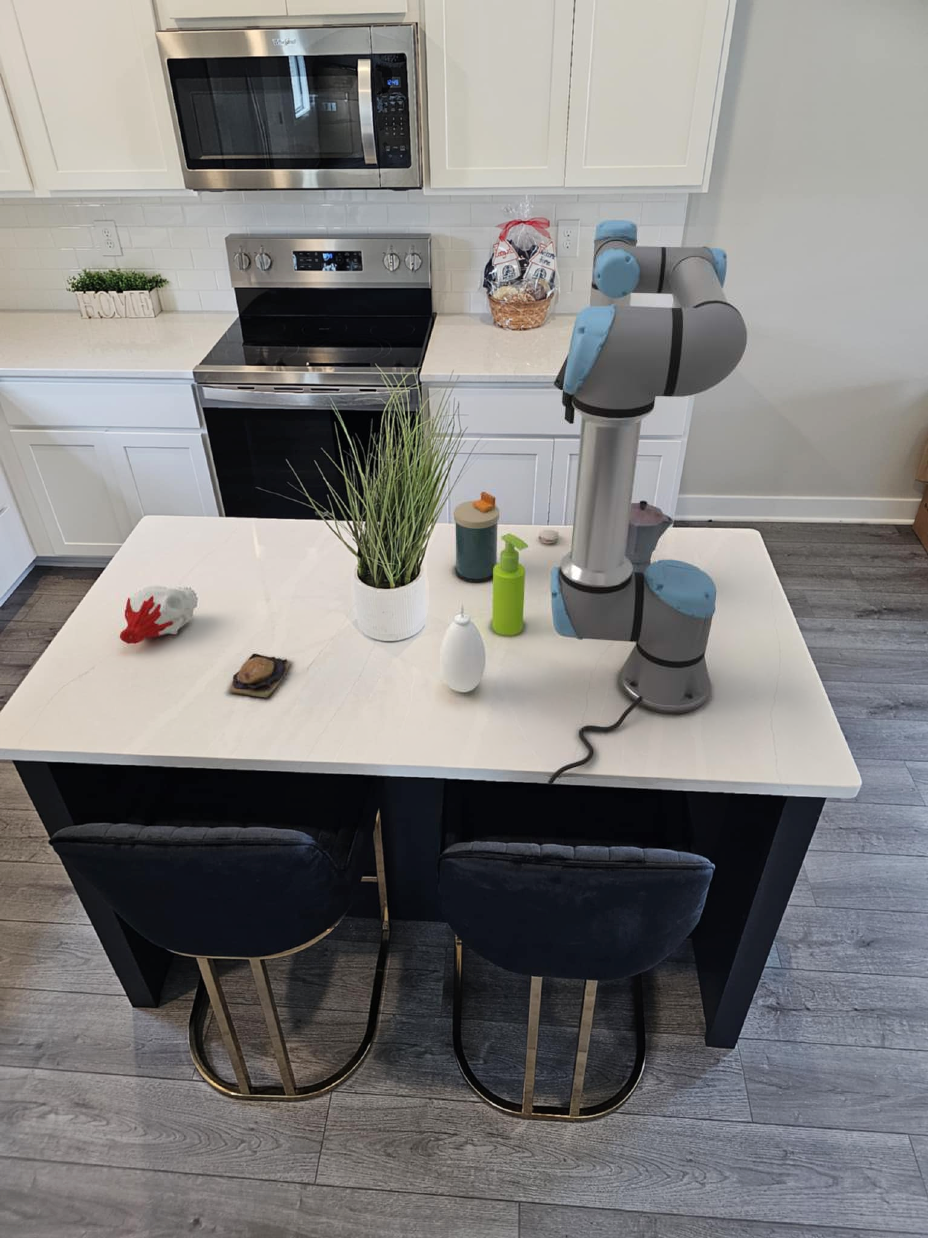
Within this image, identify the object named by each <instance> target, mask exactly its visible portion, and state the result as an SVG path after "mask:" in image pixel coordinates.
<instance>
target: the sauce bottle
mask: <svg viewBox="0 0 928 1238" xmlns="http://www.w3.org/2000/svg"><path fill="white" fill-rule="evenodd" d="M460 605H461V606H460V613H458V614H456V615H455V617H454V620H453V621H452V622H451V623H450V625H449V626H448V628H447V629H446V632H445V634H444V636H443V639H442V641H441V642H442V643H441V645H440V650H439V669H440V672H441V676H442V678H443V681H444V682H445V684H446V685H447V686H448V687H449V688H450V689H451V690H453V691H455V692H458V693H469V692H470V691H472V690H474V689H475V688H476V687H478V685H479V683H480V682H481V680H482V678H483V675H484V672H485V670H486V649H485V645H484V641H483V638H482V635H481V633H480V631H479V629H478V627H477V626H476V625H475V624H474V622H473V621H472V620H471V617H470V616H469V615H468V614H466V613H465V611H464V604H463V603H461V604H460Z"/></svg>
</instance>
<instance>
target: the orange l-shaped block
mask: <svg viewBox="0 0 928 1238" xmlns="http://www.w3.org/2000/svg"><path fill="white" fill-rule="evenodd" d="M474 501H475V502H473V506H474V507H476V508H478V509H480V510H481V511H483V512H486V511H488V510H490V509H493V508H495V506H496V497H495V496H493V495H491V494H489V493H487V492H486V491H481V492H480V499H478V500H474Z"/></svg>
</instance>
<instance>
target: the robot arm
mask: <svg viewBox="0 0 928 1238" xmlns="http://www.w3.org/2000/svg"><path fill="white" fill-rule="evenodd" d="M593 243H594V245H593V257H592V274H591V278H592V279H591V284H590V285H591V286H590V297H589V306H586V307H584V308H582V309H581V310H580V311H579V312H578V313H577V315H576V318H575V321H574V325H573V329H572V334H571V339H570V343H569V349H568V353H567V355H566V357H565V359H564V361H563V363H562V365H561V367H560V369H559V372H558V373H557V375H556V378H555V379H554V382H553V386H555V388H557V389H558V390H559V391H562V394H561V395H562V396H561V404H562V406H563V407H564V420H565V421H566V422H567V423H568V424H570V425H571V424H575V411H576V412H578V413H579V415H580V416H581V419H580V432H579V433H580V434H579V446H578V456H577V457H578V458H577V469H576V470H577V471H576V484H575V497H574V508H573V509H574V510H573V520H572V521H573V523H572V534H571V547H570V551H569V552H567V553H566V554H565V555H563V557H562V558H561V560H560V565H559V566H557V567H556V566H555V567H553V568H552V569H551V573H550V595H551V600H550V601H551V602H550V603H551V616H552V617H551V618H552V624H553V628H554V631H555V632H556V633H557V634H558V635H559V636H561V637H565V638H571V639H573V638H574V639H577V640H581V641H582V640H596V641H597V640H599V641H614V642H631V643H635V644H634V646H633V648H632V649H631V651H630V653H629V655H628V657H626V660H625V661H624V663H623V665H622V667H621V669H620V678H619V684H620V688H621V690H622V692H623V693H624V695H625V696H626V697H627V698H628V699H629V700H630V701H631V702H632V703H631V704H630V705H629V706H628V707H627V708H626V709H625V710H624V711H623V712H622V714H621V715H620V717H619V719H618V720H617V721H616V722H615V723H614V724H612V725H610V726H598V725H585V726H582V727H581V729H580V730H579V732H578V736H579V739H580V740H581V741H582V743H583V744H584V745H585V747H586V748H587V750H588V754H587V755H586V756H585V757H584V758H583V759H581V760H578V761H575V762H574V761H573V762H571V763H569V764H566V765H564V766H561V767H560V768H558V769H557V770H556V771H555V772H554V773H553V774H552V775H551V776H550V778H549V780H548V781H547V784H548V785H553V784H554V783H555V781H556V779H557V778H558V777H559V776H560V775H562V774H563V773H565V772H567V771H569V770H571V769H575V768H578V767H581V766H584V765H586V764H587V763H589V762H590V761H591V760H592V759H593V756H594V754H595V752H594V748H593V745H591V743H590V742H589V740H588V739H587V738H586V736H585V735H584V734H585V732H587V731H595V732H611V731H614V730H616V729H617V728H618V727H620V726H621V725H622V723H623V722H624V720H625V719H626V718H627V716H628V715H629V714H631V712H632V711H633V710H634V709H635V708H636V707H637V706H639V707H641V708H643V709H646V710H648V711H651V712H655V713H658V714H659V713H661V714H667V715H676V714H678V715H679V714H684V713H689V712H691V711H695V710H696V709H699V707H701V706H702V705H703V704H704V703H705V701H706V700H707V698H708V696H709V692H710V686H711V681H710V676H709V670H708V665H707V661H706V660H707V659H706V652H707V651H706V650H707V646H708V640H709V636H710V631H711V626H712V621H713V616H714V615H715V612H716V599H717V587H716V585H715V582H714V580H713V579H712V578H711V576H709V574H708V573H706V572H705V571H704V570H702V569H701V568H700V567H698V566H696V565H694V564H691V563H689V562H686V561H682V560H678V559H668V558H667V559H659V560H657V561H653V562H651V564H650V565H649V566H648V567H647V569H646V570H645V573H643V572H633V566H632V563H631V562H630V560H629V559H628V558H627V557H626V556H625V550H626V542H627V533H628V525H629V517H630V509H631V503H632V499H633V492H634V483H635V475H636V469H637V468H636V467H637V459H638V451H639V443H640V436H641V427H642V420H643V419H645V418H646V417H648V416H649V415H650V414H651V413H652V412H653V411H654V409H655V404H656V403H655V402H656V397H669V398H671V397H674V398H676V397H677V398H681V397H682V398H684V397H689V396H694V395H697V394H700V393H702V392H705V391H707V390H710V389H711V388H714V387H715V386H717V385H719V384H720V383H721V382H722V381H724V380H725V379H726V378H728V377H729V375H730V374H731V373H732V372H733V371H734V370H735V369H736V367H737V366H738V365H739V363H740V361H742V358H743V355H744V354H745V351H746V348H747V343H748V332H747V327H746V323H745V321H744V319H743V316H742V314H741V312H740V311H739V309H738V308H737V307H735V306H734V305H732V304H731V303H730V302H728V300H727V297H726V294H725V292H724V290H723V288H724V286H725V281H726V275H727V268H728V267H727V266H728V260H727V257H728V256H727V253H726V251H725V250H724V249H723V248H716V247H710V246H706V245H705V246H697V247H696V246H649V245H647V246H646V245H642V246H641V245H637V243H638V226H637V224H636V223H635V222H633V221H629V220H625V219H608V220H603V221H600V222H599V223H598V224H597V225H596V227H595V235H594V239H593ZM632 294H659V295H672V299H673V304H674V307H664V306H663V307H661V306H638V305H631V299H632Z"/></svg>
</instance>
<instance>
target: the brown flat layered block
mask: <svg viewBox="0 0 928 1238" xmlns="http://www.w3.org/2000/svg"><path fill="white" fill-rule="evenodd" d="M290 666H291V662H290V661H289V660H288V659H286V658H285V659H282V658H280V657H279V658H276V657H275V656H266V655H262V654H258V653H255V652H254V653H252V654H251V656H250V657H249V658H248V659H247V660H246V661H244V663H242V666H241V667H240V670H238V671H237V672H236V673H235V674H233V675H232V684H231V686H230V687H229V693H231V694H237V695H238V694H240V695H248V696H251V697H256V698H257V697H258V698H264V699H268V698H269V697H270V695H272V693H273V692H274V691H275V690H276V689H277V687H278V686H279V685H280V683H281V682H282V680H283V679H284V676H285V675H286V674H287V671H288V670H289V668H290Z"/></svg>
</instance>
